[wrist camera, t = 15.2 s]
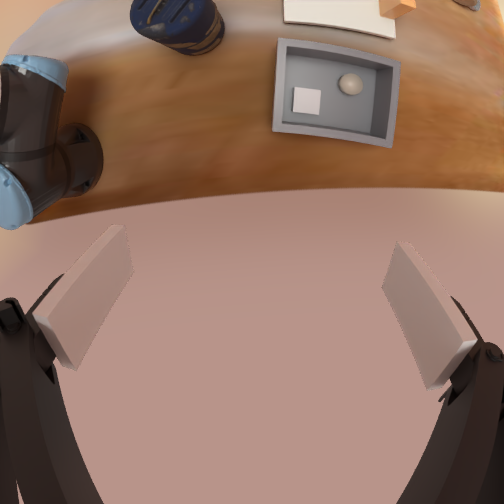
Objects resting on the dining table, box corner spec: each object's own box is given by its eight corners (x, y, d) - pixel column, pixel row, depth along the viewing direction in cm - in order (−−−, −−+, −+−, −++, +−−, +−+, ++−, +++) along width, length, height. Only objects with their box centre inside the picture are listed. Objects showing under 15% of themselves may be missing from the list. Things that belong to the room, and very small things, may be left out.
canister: (237, 32, 35) (222, -5, 19) (194, 67, 38) (154, 51, 23) (201, 0, 31) (169, -43, 16) (159, 35, 35) (108, 10, 19)
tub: (271, 126, 43) (272, 131, 36) (276, 48, 36) (278, 37, 29) (373, 140, 43) (391, 148, 36) (380, 66, 36) (400, 61, 29)
